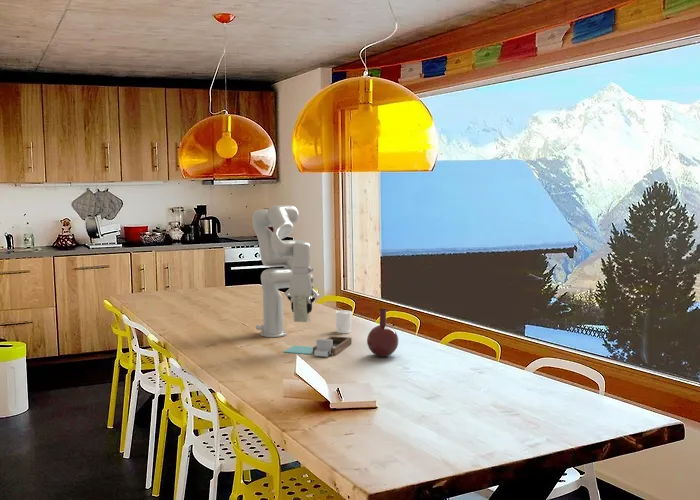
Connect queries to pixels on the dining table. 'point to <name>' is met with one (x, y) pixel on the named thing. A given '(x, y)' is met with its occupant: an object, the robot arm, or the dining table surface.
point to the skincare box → (300, 308)
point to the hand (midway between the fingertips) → (301, 311)
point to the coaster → (300, 350)
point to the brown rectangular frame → (343, 344)
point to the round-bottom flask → (382, 338)
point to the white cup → (343, 321)
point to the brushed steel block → (324, 347)
